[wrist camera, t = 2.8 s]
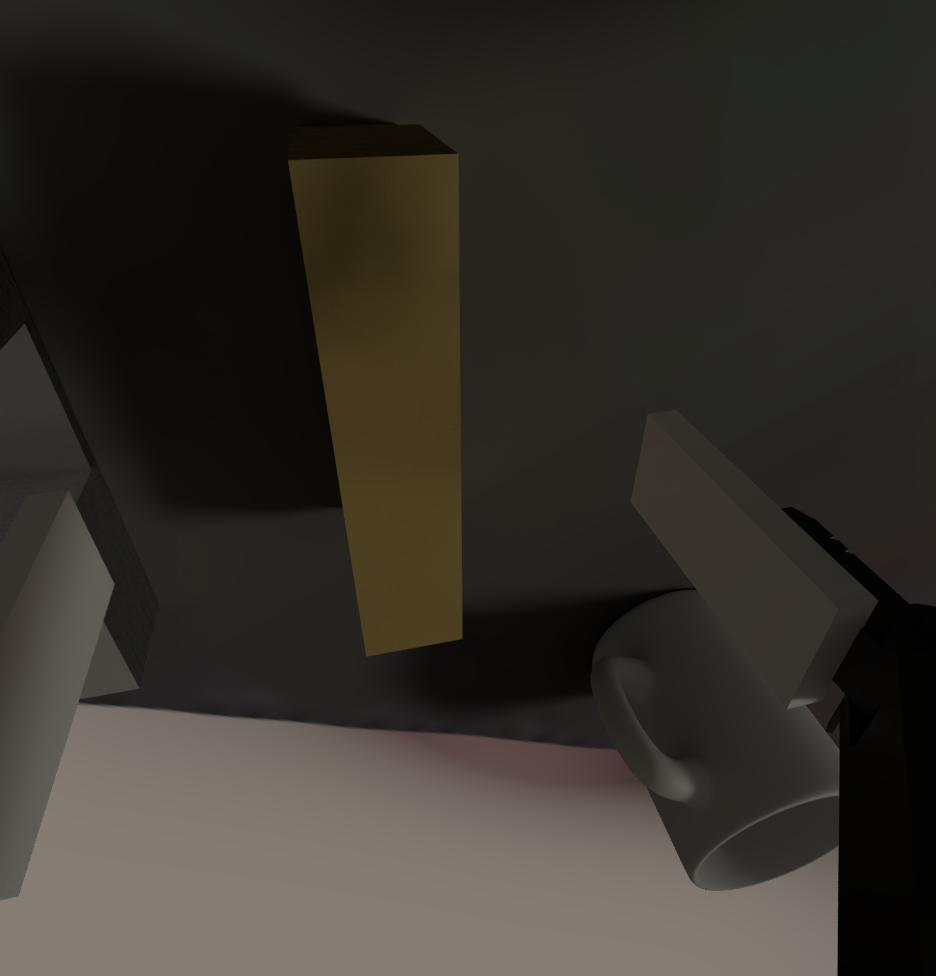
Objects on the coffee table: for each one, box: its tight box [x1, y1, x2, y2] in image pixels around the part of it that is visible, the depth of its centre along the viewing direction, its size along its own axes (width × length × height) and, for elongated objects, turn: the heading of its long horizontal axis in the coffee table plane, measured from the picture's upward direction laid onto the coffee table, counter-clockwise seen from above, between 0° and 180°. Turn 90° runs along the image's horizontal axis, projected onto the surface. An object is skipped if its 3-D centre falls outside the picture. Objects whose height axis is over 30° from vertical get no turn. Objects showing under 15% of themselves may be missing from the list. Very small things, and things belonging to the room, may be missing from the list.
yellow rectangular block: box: [288, 123, 462, 656], centre depth 18 cm, size 14×3×7 cm, turn 0°
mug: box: [591, 590, 840, 891], centre depth 29 cm, size 12×8×11 cm
